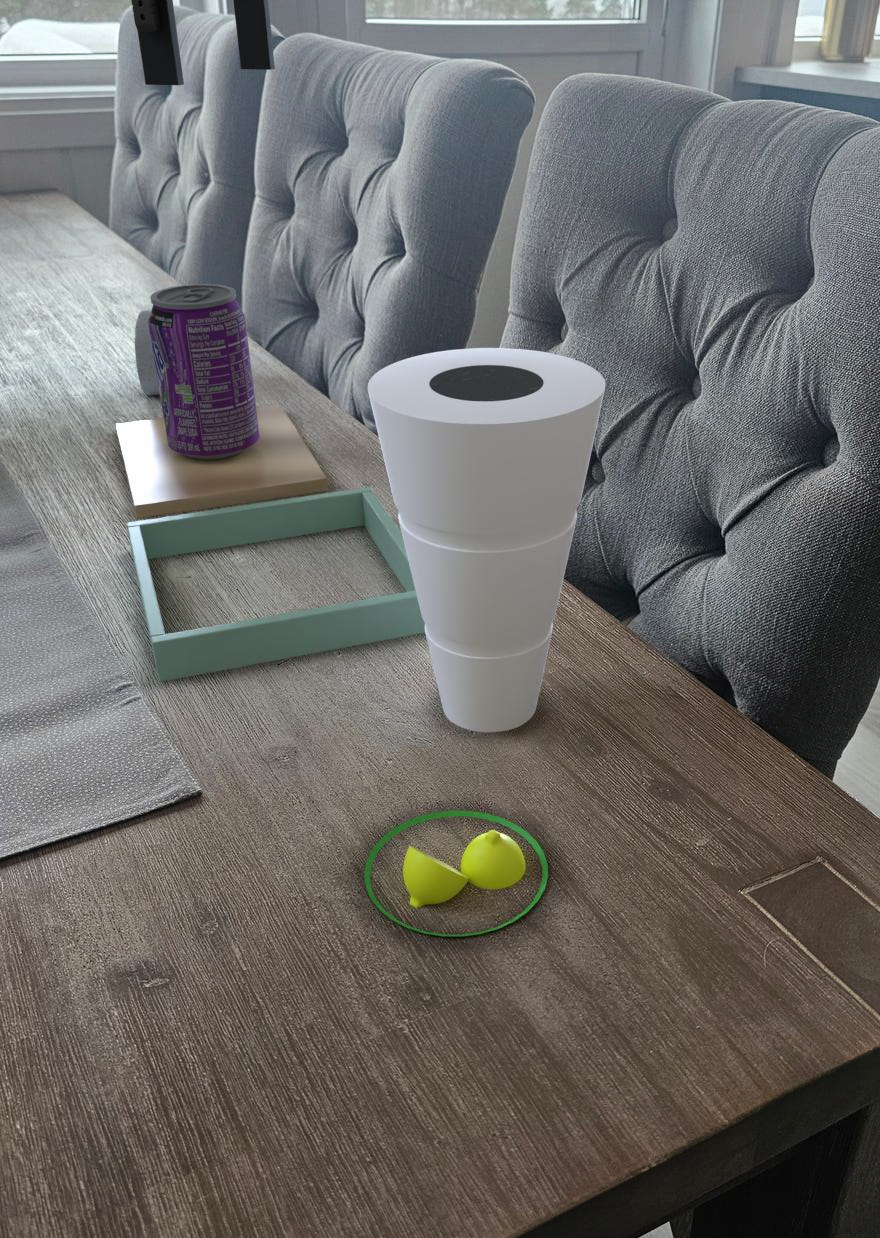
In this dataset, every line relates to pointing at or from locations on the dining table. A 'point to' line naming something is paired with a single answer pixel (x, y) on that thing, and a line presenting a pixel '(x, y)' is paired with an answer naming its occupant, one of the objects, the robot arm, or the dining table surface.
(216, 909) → the dining table surface
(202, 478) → the birch board
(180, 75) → the robot arm
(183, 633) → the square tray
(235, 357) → the beverage can
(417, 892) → the green round dish
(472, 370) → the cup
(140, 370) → the ceramic mug
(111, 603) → the dining table surface
